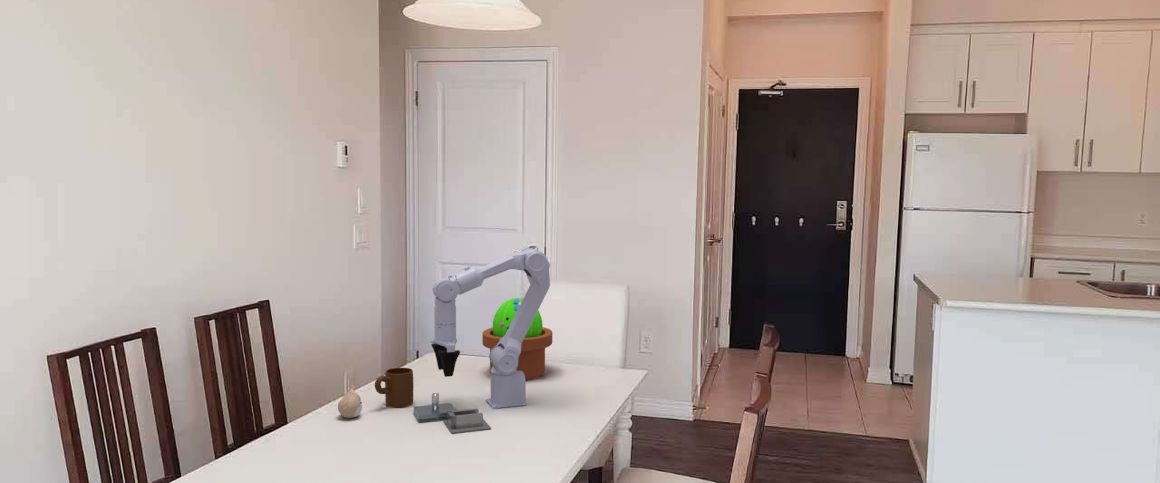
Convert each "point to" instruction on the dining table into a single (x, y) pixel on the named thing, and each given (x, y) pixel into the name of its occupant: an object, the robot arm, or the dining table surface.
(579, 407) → the dining table surface
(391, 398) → the mug
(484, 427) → the mat
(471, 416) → the gray tabletop stand
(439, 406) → the metal base with post
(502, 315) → the potted cactus
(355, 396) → the garlic bulb
